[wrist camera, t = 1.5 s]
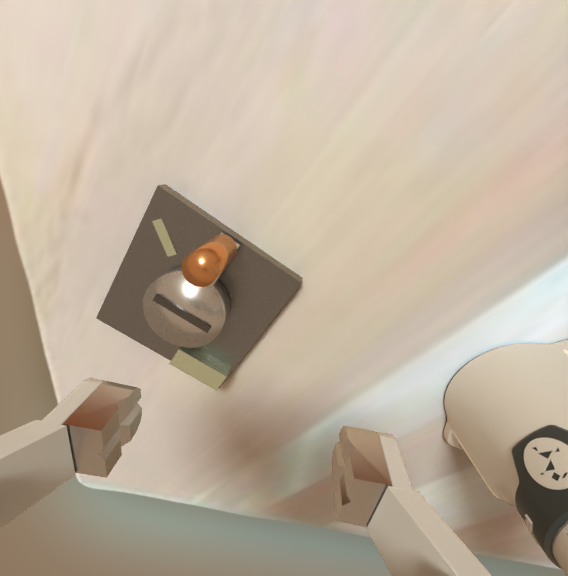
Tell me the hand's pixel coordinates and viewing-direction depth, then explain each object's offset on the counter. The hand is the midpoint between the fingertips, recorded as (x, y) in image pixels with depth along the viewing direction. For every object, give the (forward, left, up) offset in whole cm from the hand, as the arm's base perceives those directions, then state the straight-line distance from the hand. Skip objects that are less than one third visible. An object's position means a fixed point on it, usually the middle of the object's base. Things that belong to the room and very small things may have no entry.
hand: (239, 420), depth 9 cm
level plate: (+5, +10, -21) cm, 24 cm away
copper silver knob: (+5, +8, -20) cm, 22 cm away
